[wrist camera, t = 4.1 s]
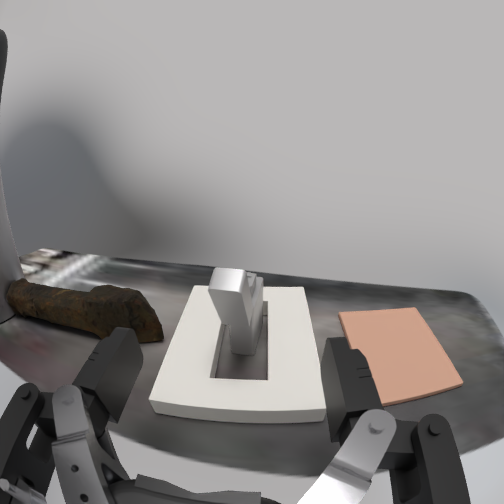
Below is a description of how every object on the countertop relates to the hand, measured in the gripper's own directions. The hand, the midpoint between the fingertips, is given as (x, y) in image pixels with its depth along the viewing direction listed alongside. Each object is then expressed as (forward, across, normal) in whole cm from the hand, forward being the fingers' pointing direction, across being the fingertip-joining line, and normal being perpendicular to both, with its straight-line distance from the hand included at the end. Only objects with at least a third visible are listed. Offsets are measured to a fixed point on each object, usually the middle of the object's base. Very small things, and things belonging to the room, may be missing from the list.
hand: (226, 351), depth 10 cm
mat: (+6, -12, +6) cm, 15 cm away
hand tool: (+8, +16, +7) cm, 19 cm away
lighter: (+7, 0, +7) cm, 10 cm away
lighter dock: (+7, 0, +6) cm, 9 cm away
